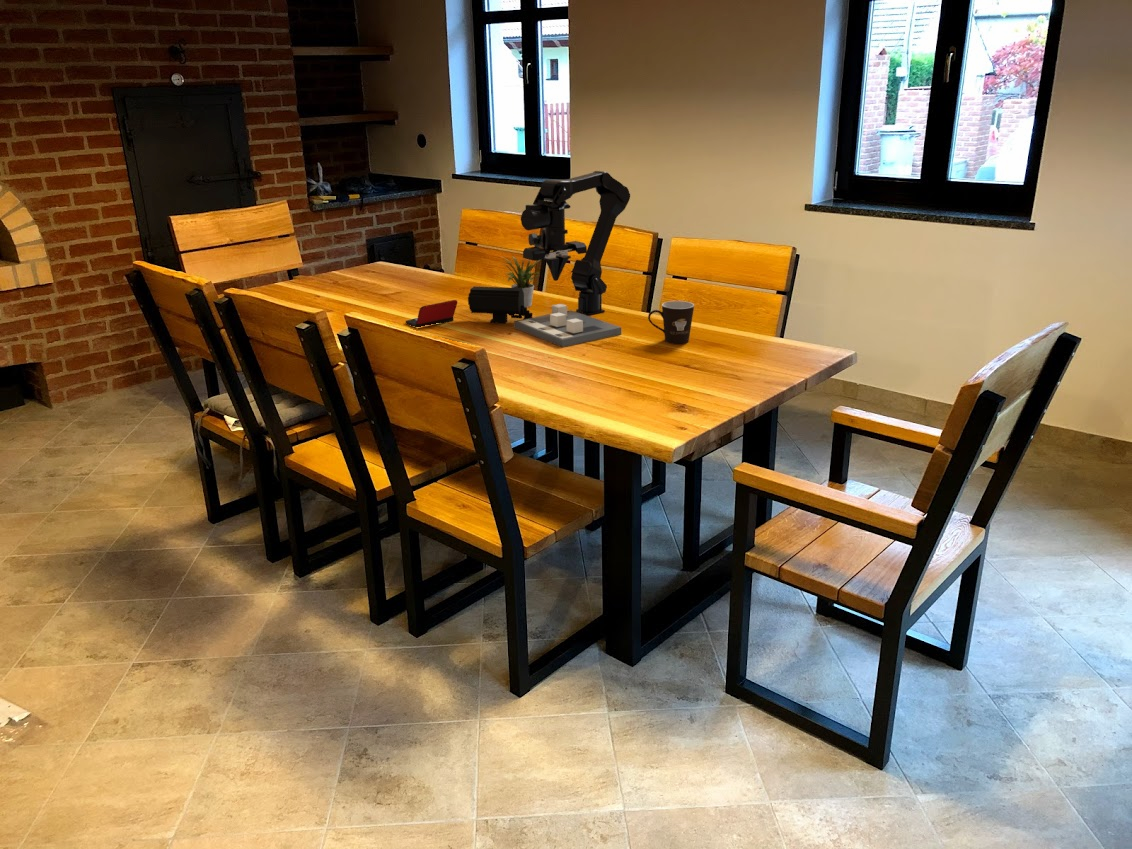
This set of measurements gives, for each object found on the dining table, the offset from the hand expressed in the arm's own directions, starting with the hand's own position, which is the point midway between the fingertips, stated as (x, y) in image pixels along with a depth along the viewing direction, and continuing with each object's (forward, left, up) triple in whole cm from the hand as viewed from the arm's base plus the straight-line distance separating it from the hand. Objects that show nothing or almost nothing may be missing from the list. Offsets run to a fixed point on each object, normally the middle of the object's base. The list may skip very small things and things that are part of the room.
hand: (555, 280), depth 262 cm
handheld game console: (+30, -20, -12) cm, 39 cm away
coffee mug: (-13, +36, -12) cm, 40 cm away
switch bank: (+4, +11, -12) cm, 17 cm away
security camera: (+14, -8, -12) cm, 20 cm away
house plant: (-1, -22, -12) cm, 25 cm away
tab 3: (+7, +19, -10) cm, 22 cm away
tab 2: (+7, +11, -10) cm, 16 cm away
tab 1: (+1, +3, -10) cm, 10 cm away
